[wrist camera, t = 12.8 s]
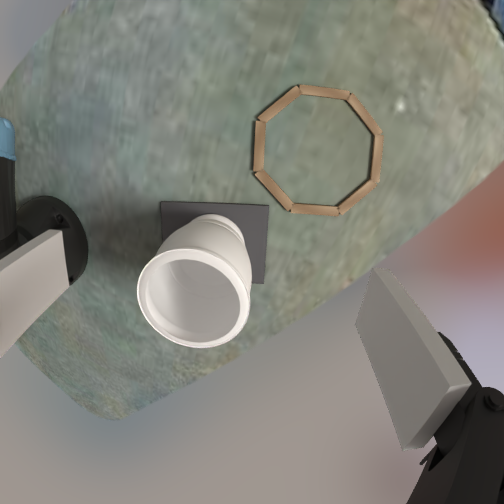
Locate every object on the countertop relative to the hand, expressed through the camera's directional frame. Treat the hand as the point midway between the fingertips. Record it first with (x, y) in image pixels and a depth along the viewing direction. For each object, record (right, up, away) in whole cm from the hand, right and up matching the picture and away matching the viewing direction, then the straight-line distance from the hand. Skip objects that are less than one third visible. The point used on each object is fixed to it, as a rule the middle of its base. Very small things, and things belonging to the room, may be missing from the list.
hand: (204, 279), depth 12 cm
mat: (-3, +2, +29) cm, 29 cm away
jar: (-3, +2, +29) cm, 29 cm away
